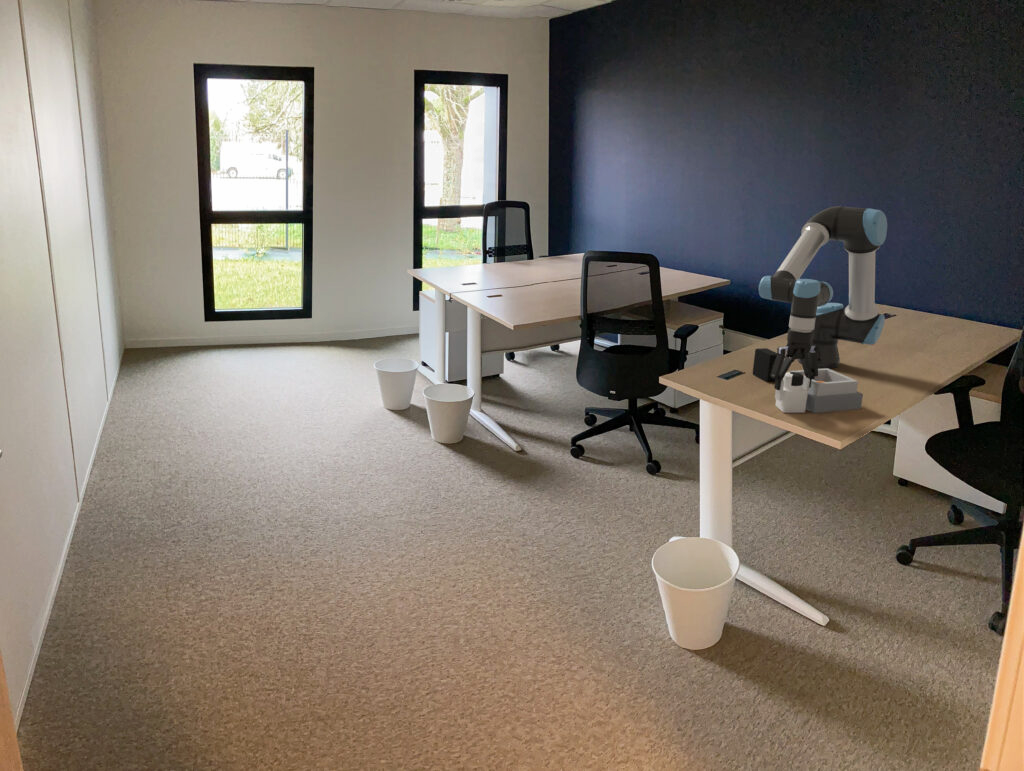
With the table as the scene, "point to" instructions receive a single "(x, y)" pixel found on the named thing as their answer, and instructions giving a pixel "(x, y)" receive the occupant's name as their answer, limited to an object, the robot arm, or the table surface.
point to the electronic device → (764, 364)
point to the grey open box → (832, 392)
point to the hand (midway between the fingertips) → (790, 398)
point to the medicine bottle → (793, 394)
